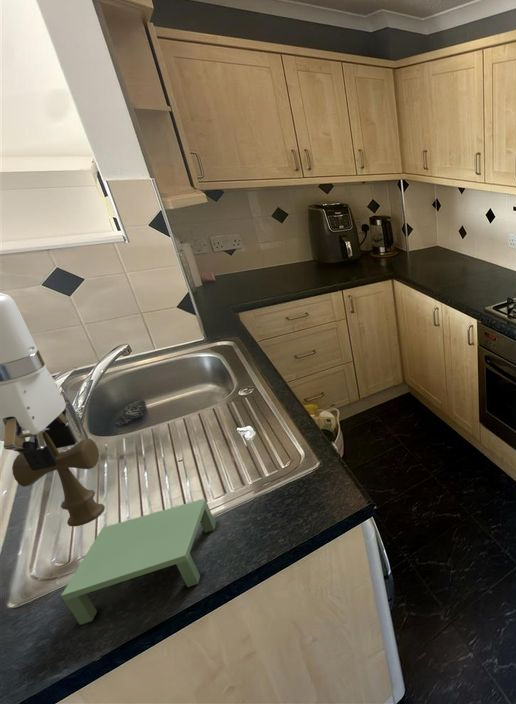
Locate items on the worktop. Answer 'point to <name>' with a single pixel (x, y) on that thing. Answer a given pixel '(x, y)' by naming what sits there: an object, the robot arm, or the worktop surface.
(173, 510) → the spice shelf
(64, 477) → the kendama
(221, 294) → the worktop surface
